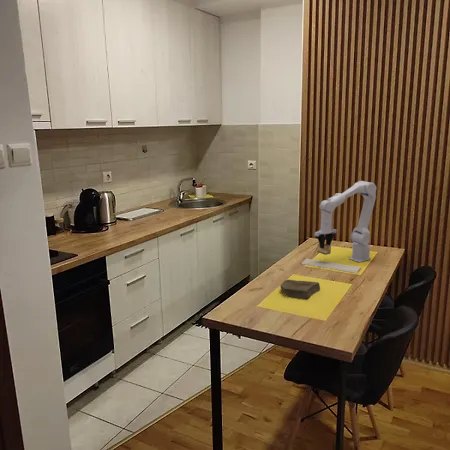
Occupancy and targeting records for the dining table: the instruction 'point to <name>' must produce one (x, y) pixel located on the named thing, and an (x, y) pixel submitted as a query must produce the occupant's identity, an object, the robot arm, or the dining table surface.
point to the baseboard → (331, 265)
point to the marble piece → (299, 288)
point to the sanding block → (324, 249)
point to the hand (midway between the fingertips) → (324, 247)
